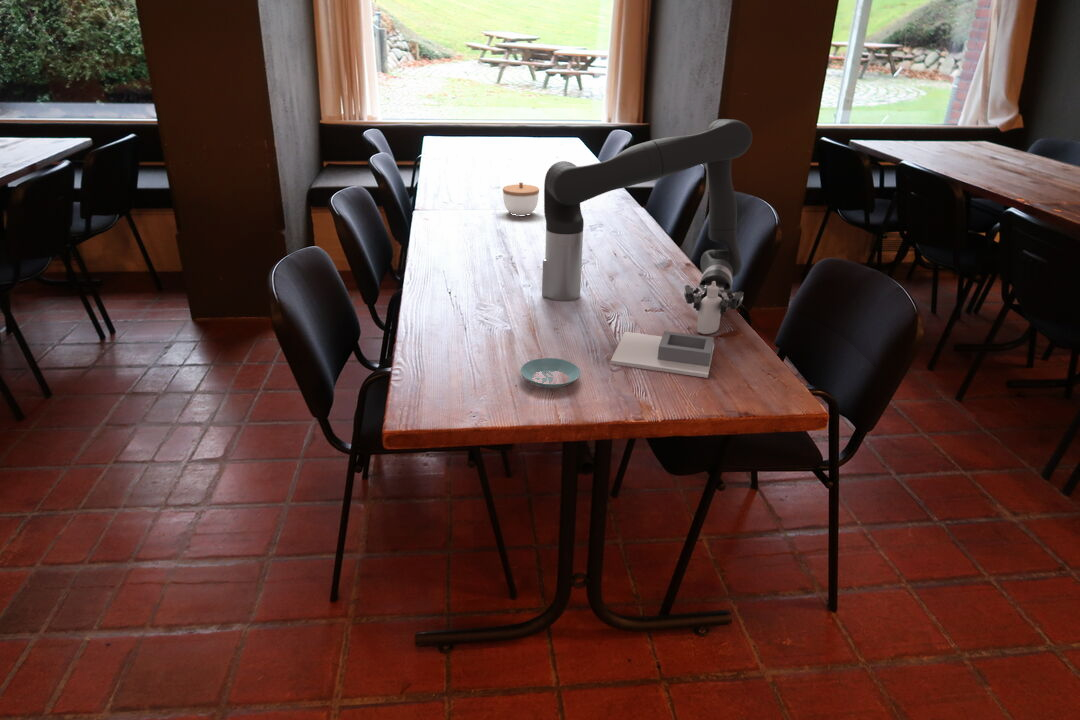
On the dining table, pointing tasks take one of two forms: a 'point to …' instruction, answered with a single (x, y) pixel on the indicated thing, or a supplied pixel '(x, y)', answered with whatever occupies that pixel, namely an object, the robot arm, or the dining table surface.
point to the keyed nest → (666, 353)
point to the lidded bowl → (520, 198)
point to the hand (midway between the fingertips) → (710, 308)
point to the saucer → (551, 366)
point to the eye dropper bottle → (709, 311)
